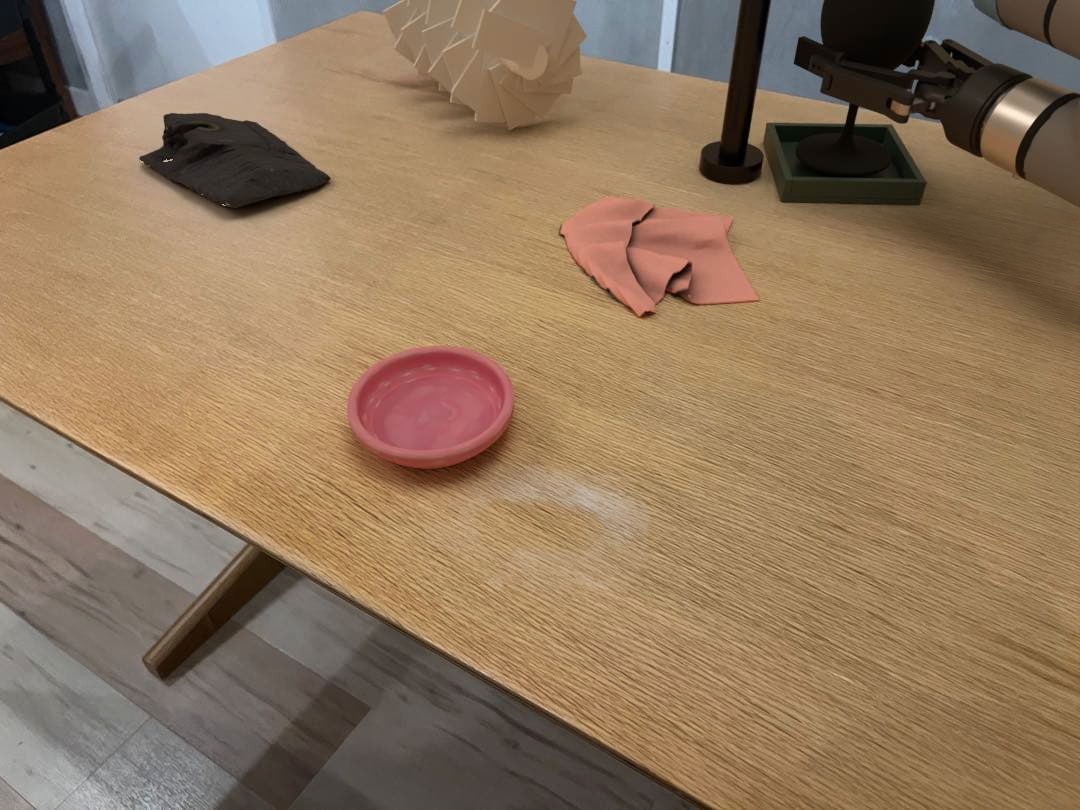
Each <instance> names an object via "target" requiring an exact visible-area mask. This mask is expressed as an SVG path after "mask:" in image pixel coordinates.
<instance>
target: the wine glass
mask: <svg viewBox="0 0 1080 810" xmlns="http://www.w3.org/2000/svg"><path fill="white" fill-rule="evenodd" d="M935 2H936V0H823V2H822V7H821V11H820V23H819V24H820V25H819V26H820V27H819V28H820V37H821V42H822V43H821V44H823V45H825V46H827V47H829V48H831V49H833V50H835V51H838V52H846V53H845V55H847V60H846V61H851V62H856V63H861V64H865V65H870V66H875V67H880V68H884V69H889V70H894V71H896V70H897V68H899V67H900V66H901V65H902V64H903V63H904V62H905V61H906V60H907V59H908V58H909V57H910V56H911V55H912V54H913V52H914V51H915V50H916V48H917V47H918V46H919V44H920V43H921V41H922V42H923V39H924V38H925V35H926V33H927V31H928V29H929V26H930V23H931V20H932V17H933V13H934V9H935ZM858 111H859V106H857V105H854V104H851V103H848V110H847V115H846V118H845V123H844V124H845V126H844V129H843V132H842V133H824V134H817V135H813V136H810V137H807V138H805V139H803V140H802V141H800V142H799V143H798V145H797V146H796V150H795V154H796V156H797V158H798V159H799V161H801V162H802V163H803V164H804V165H806V166H808V167H810V168H812V169H814V170H816V171H819V172H822V173H826V174H831V175H836V176H846V177H860V176H868V175H873V174H877V173H879V172H881V171H883V170H885V169H886V168H887V167H888V166H889V165H890V163H891V154H890V152H889V151H888V150H887V148H886V147H884V146H883V145H881V144H880V143H878V142H876V141H873V140H871V139H868V138H865V137H861V136H857V135H853V131H854V124H856V121H857V120H856V119H857V115H858Z"/></svg>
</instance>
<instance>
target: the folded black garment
mask: <svg viewBox="0 0 1080 810" xmlns="http://www.w3.org/2000/svg"><path fill="white" fill-rule="evenodd" d="M163 125H164V128H163V133H162V136H161V139H162V142H163V144H162V146H161V147H160V148H157V149H156V150H153V151H151V152H148V153H146V154H144V155H141V156H139V158H138V159H139V161H140V160H141V161H143V162H144V163H145V164H146V165H145V164H144V163H143V162H142V163H143V164H144V165H145V166H148V165H150V166H149V167H150V168H151V169H153V170H155V172H157V171H158V172H157V173H159V174H160V175H161V174H162V175H161V176H163V177H165V176H167V177H166V178H167V179H168V180H170V179H172V180H171V181H173V182H174V183H175V182H177V183H176V184H178V183H182V184H181V185H183V186H186V188H188V189H189V190H192V191H195V192H196V193H197V194H198V193H200V194H203V195H204V197H205V198H208V199H210V200H211V201H213V202H215V201H216V202H215V203H218V202H219V203H218V204H220V205H221V204H224V205H226V207H229V208H232V209H238V208H241V207H244V206H246V205H250V204H249V203H251V204H252V203H253V204H255V203H257V202H261V201H265V200H268V199H271V198H274V196H275V197H282V196H286V195H291V194H294V193H298V192H304V191H308V190H311V188H312V189H315V188H317V187H319V186H321V185H323V184H325V183H326V182H328V181H330V180H331V179H332V178H331V176H329V175H328V174H326V172H324V171H323V170H321V169H319V168H318V167H316V166H315V164H313V163H312V162H310V161H309V160H307V159H306V158H305V157H303V156H302V155H301V154H300V153H299V151H297V150H295V149H294V148H293V147H291V146H290V145H288V143H287V142H286V141H285V140H282V139H280V138H279V137H278V135H276V134H274V133H273V132H271V131H270V130H268V129H267V128H266V127H263V126H262V125H260V124H259V123H258V122H256V121H253V120H252V121H251V120H248V119H247V120H245V119H244V120H237V119H232V118H227V117H226V118H225V117H223V116H221V115H218V114H211V113H207V112H199V113H197V112H194V113H176V112H170V113H165V114H164V115H163ZM166 159H167V160H170V159H173V160H172V161H168V162H163V161H164V160H166ZM307 189H308V190H307ZM303 190H304V191H303ZM200 194H199V195H200ZM254 202H255V203H254Z"/></svg>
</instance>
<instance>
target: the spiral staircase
mask: <svg viewBox="0 0 1080 810" xmlns="http://www.w3.org/2000/svg"><path fill="white" fill-rule="evenodd" d="M576 5H577V0H400V1H397V2H396V3H394V4H392V5H390V6H389V7H387V8H386V9H384V10H382V13H383V15H384V18H385V20H386V23H387V24H388V28H389V29H390V32H391V35H392V36H393V39H394V41H395V43H394V45H393V46H392V49H393V50H394V51H396V52H397V53H398V54H399V55H401V56H402V57H404V58H405V59H406V60H408V61H409V62H410V63H412V64H413V65H412V67H414V68H415V69H416V75H417V76H429V77H430V78H431V79H433V80H435V81H437V82H438V91H439V92H448V93H450V96H449V97H450V98H449V103H450V104H457V105H464V106H467V107H468V108H469V109H471V110H472V111H474V112H475V113H474V122H476V123H504V124H506V128H507V130H508V131H512V130H513V129H516V128H517V127H518V126H521V125H522V124H524V123H526V122H527V121H529V120H530V119H533V118H534V117H536V116H537V117H538V119H540V120H541V121H544V120H545V118H546V117H547V115H548V114H549V113H550V111H551V110H552V108H553V107H554V106H555V103H556V102H557V100H558V99H559V98H560V96H561V95H571V93H572V90H573V89H572V88H573V84H574V79H575V78H577V77H580V76H582V64H581V62H582V61H581V50H580V48H581V47H580V45H581V44H582V43H583V42H584V41H585V40H586V39H587V38H588V35H587V33H586V32H585V30H584V29H583V27H582V25H581V23H580V22H579V20H578V19H577V17H576V15H575V14H574V11H575V8H576Z"/></svg>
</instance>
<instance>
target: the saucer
mask: <svg viewBox="0 0 1080 810" xmlns="http://www.w3.org/2000/svg"><path fill="white" fill-rule="evenodd" d="M515 397H516V396H515V388H514V386H513V382H512V380H511V378H510V376H509V375H508V373H507V372H506V371H505V370H504V368H503V367H502V366H501V365H500V364H498V362H496V361H495V360H493V359H492V358H490V357H488V356H487V355H485V354H483V353H480V352H478V351H476V350H473V349H468V348H465V347H459V346H453V345H426V346H419V347H414V348H409V349H405V350H401V351H399V352H396V353H393V354H391V355H389V356H386V357H384V358H382V359H381V360H379V361H377V362H375V363H374V364H373V365H371V366H370V367H369V368H367V369H366V370H365V371H364V372H363V373H362V374H361V375H360V376H359V377H358V378H357V379H356V381H355V382H354V384H353V386H352V388H351V389H350V392H349V394H348V397H347V400H346V401H347V403H346V415H347V420H348V423H349V427H350V429H351V432H352V434H353V435H354V437H355V438H356V439H357V441H358V442H359V443H360V444H361V445H362V446H363V448H365V449H366V450H368V451H369V452H371V453H372V454H374V455H375V456H377V457H378V458H379V457H380V458H382V459H384V460H385V461H388V462H391V463H394V464H397V465H399V466H405V467H409V468H414V469H421V470H434V469H443V468H447V467H451V466H455V465H458V464H460V463H463V462H465V461H468V460H469V459H472V458H474V457H475V456H477V455H479V454H480V453H482V452H483V451H485V450H486V449H489V447H490V446H491V445H492V444H494V443H496V441H497V440H499V438H501V436H502V435H503V434H504V433H505V431H506V430H507V428H508V426H509V425H510V423H511V420H512V418H513V415H514V412H515V406H516V405H515V404H516V401H515V400H516V399H515Z"/></svg>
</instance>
